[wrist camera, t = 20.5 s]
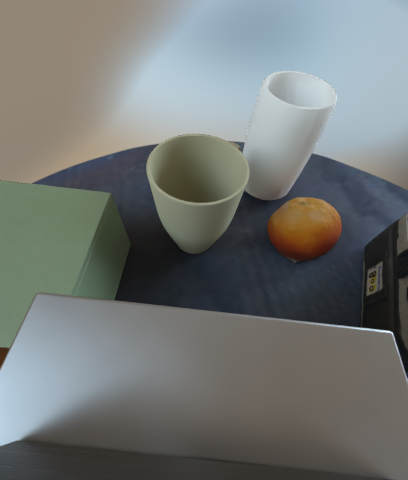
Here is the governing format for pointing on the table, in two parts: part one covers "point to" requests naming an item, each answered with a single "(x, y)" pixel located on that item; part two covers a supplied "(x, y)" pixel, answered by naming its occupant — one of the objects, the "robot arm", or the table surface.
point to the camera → (387, 284)
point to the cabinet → (56, 247)
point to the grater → (197, 396)
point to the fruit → (304, 228)
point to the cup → (285, 130)
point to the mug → (197, 187)
